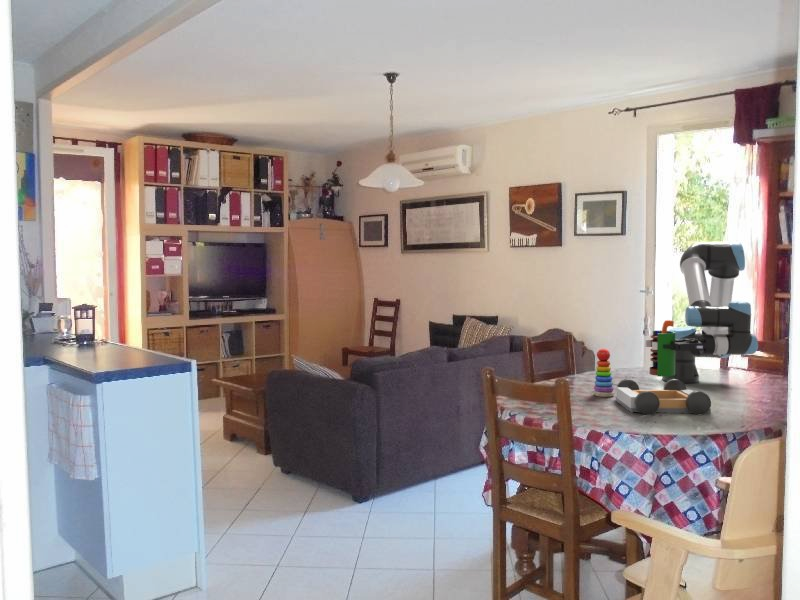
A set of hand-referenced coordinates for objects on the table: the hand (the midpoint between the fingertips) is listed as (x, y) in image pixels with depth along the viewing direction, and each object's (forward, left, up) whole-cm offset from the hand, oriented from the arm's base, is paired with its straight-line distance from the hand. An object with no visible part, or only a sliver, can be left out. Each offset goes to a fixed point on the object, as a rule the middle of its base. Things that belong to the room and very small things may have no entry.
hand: (649, 344), depth 263 cm
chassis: (0, +5, -23) cm, 24 cm away
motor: (0, +5, -11) cm, 12 cm away
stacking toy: (-20, -11, -23) cm, 33 cm away
